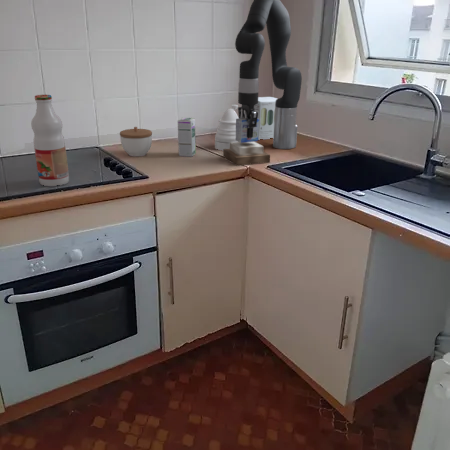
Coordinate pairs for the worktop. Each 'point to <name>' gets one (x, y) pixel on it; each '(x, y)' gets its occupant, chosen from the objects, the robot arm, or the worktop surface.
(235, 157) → the plinth
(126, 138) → the lidded bowl
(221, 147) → the honey pot
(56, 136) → the fruit juice
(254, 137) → the medicine box
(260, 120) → the supplement box
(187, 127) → the syrup box
